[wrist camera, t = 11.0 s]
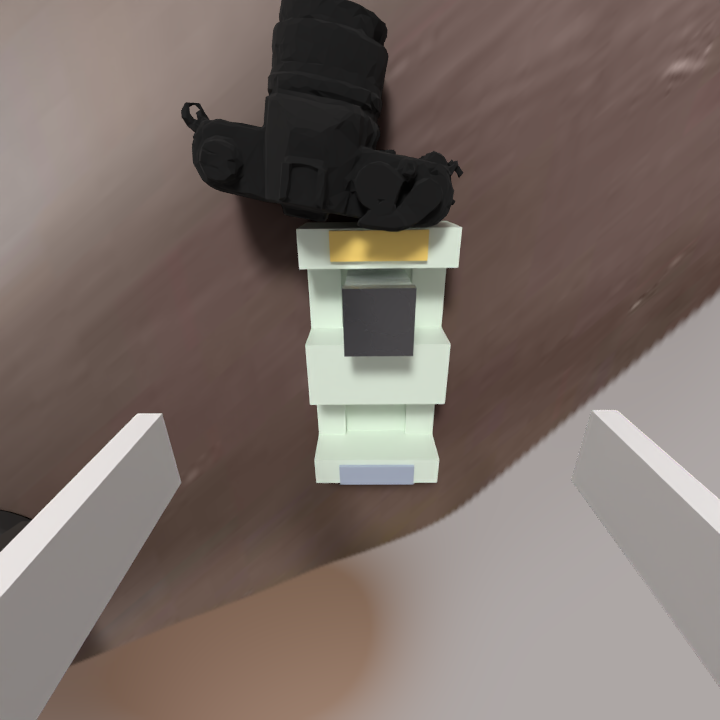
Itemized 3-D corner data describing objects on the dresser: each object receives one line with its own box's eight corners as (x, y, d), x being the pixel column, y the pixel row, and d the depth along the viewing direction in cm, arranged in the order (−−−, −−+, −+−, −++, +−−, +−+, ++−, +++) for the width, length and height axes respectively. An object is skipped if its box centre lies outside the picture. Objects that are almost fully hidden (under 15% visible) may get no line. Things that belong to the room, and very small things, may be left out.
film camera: (470, 70, 23) (528, 7, 15) (429, 232, 27) (457, 252, 19) (222, 14, 22) (139, -87, 14) (219, 191, 26) (152, 193, 18)
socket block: (322, 447, 35) (315, 485, 31) (306, 222, 27) (295, 229, 22) (428, 447, 35) (437, 485, 31) (446, 220, 27) (463, 227, 22)
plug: (348, 319, 29) (344, 356, 23) (346, 265, 27) (342, 288, 21) (402, 318, 29) (413, 356, 23) (404, 264, 27) (416, 287, 21)
